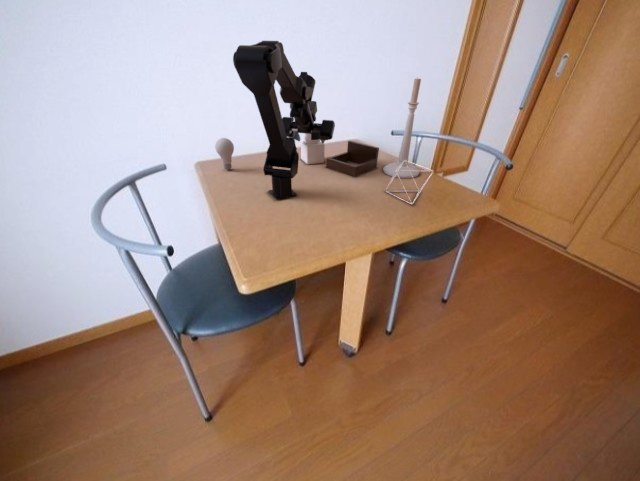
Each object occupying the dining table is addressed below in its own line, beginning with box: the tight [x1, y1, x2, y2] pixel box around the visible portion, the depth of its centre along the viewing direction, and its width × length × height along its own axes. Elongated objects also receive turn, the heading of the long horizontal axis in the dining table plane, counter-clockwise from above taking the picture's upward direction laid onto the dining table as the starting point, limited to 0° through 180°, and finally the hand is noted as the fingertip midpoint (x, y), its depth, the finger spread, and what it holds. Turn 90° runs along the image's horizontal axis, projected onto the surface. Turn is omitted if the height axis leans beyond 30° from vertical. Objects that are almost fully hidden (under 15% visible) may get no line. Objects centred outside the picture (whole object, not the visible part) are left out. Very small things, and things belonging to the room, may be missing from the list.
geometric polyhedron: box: [385, 160, 435, 205], centre depth 84 cm, size 12×11×9 cm
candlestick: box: [382, 78, 422, 179], centre depth 96 cm, size 13×13×30 cm
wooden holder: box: [325, 140, 380, 178], centre depth 105 cm, size 13×13×8 cm
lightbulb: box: [214, 137, 235, 171], centre depth 99 cm, size 6×6×11 cm
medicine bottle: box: [300, 131, 326, 165], centre depth 109 cm, size 7×7×12 cm
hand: (311, 141), depth 107 cm, fingers open, 9 cm apart
